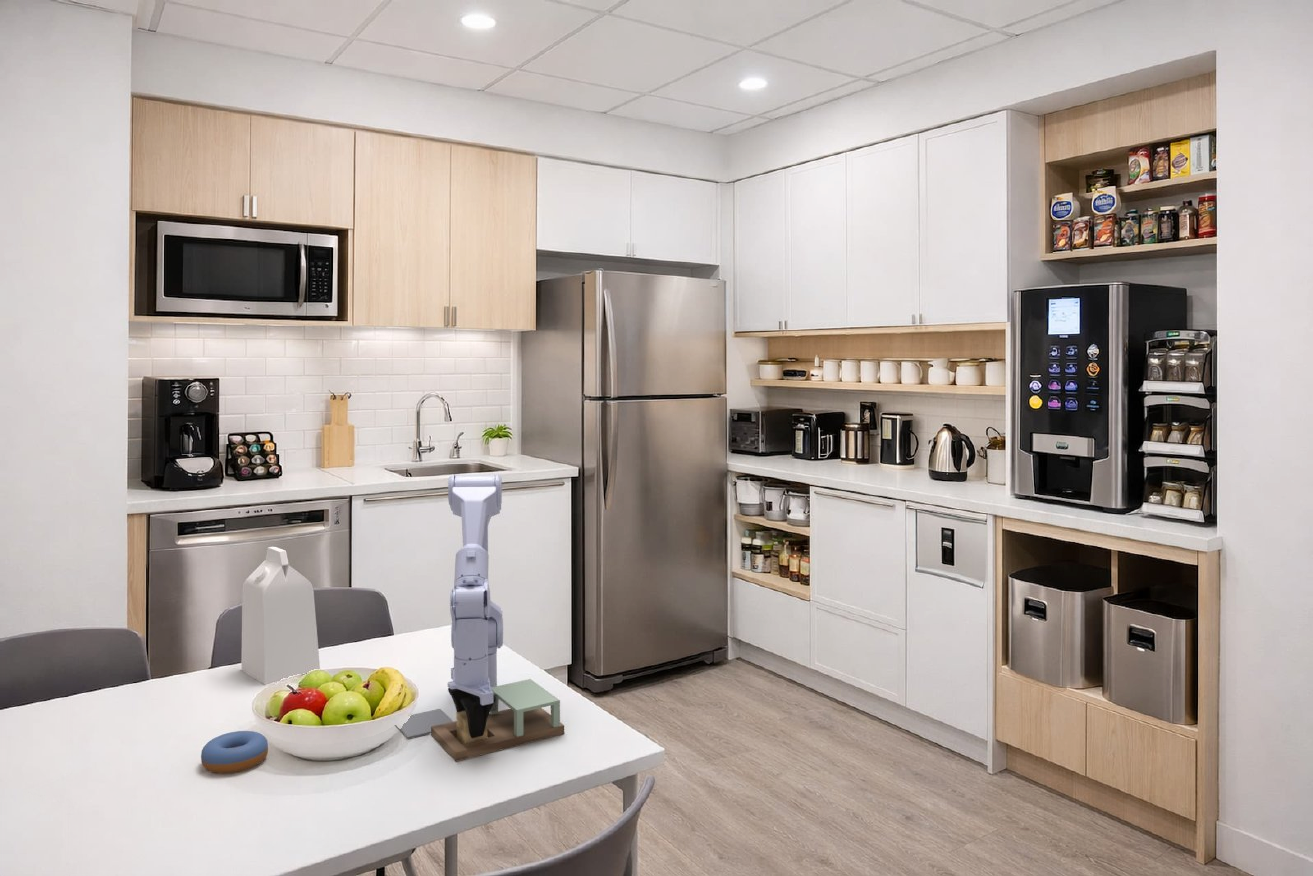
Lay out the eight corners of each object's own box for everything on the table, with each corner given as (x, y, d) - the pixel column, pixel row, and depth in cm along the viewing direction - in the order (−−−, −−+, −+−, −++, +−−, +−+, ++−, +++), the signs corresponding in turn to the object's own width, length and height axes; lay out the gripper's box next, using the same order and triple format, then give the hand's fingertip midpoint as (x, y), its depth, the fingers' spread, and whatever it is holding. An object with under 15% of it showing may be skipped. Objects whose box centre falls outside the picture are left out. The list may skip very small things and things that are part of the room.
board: (431, 735, 154) (431, 726, 154) (534, 710, 165) (534, 702, 165) (455, 761, 144) (455, 752, 144) (564, 733, 155) (564, 725, 155)
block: (456, 740, 152) (456, 712, 151) (478, 735, 154) (478, 707, 154) (465, 749, 149) (464, 720, 148) (487, 743, 151) (487, 715, 150)
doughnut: (238, 742, 150) (236, 718, 149) (282, 756, 146) (280, 731, 145) (187, 773, 141) (185, 747, 140) (233, 788, 137) (231, 762, 136)
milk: (320, 670, 185) (316, 549, 183) (264, 685, 177) (260, 558, 174) (295, 656, 193) (291, 540, 191) (241, 670, 185) (236, 548, 183)
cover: (484, 714, 159) (484, 689, 159) (530, 703, 164) (530, 679, 164) (511, 738, 149) (511, 711, 149) (559, 726, 154) (559, 700, 154)
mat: (392, 721, 160) (392, 719, 160) (440, 710, 165) (440, 708, 165) (407, 739, 152) (407, 737, 152) (457, 727, 157) (457, 725, 157)
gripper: (433, 646, 154) (435, 721, 155) (464, 671, 142) (465, 752, 143) (472, 640, 158) (472, 713, 159) (504, 663, 146) (505, 742, 147)
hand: (471, 731), depth 151 cm, fingers closed on block, 4 cm apart
